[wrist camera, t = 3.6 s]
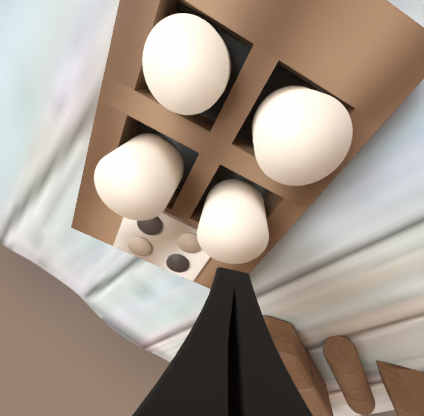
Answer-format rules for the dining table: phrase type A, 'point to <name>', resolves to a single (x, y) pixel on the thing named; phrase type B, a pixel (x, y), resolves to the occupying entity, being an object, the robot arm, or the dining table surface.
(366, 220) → the dining table surface
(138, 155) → the button
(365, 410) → the wooden block set
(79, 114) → the dining table surface
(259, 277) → the dining table surface
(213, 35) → the button
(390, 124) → the dining table surface
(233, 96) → the button board
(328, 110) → the button
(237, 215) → the button
